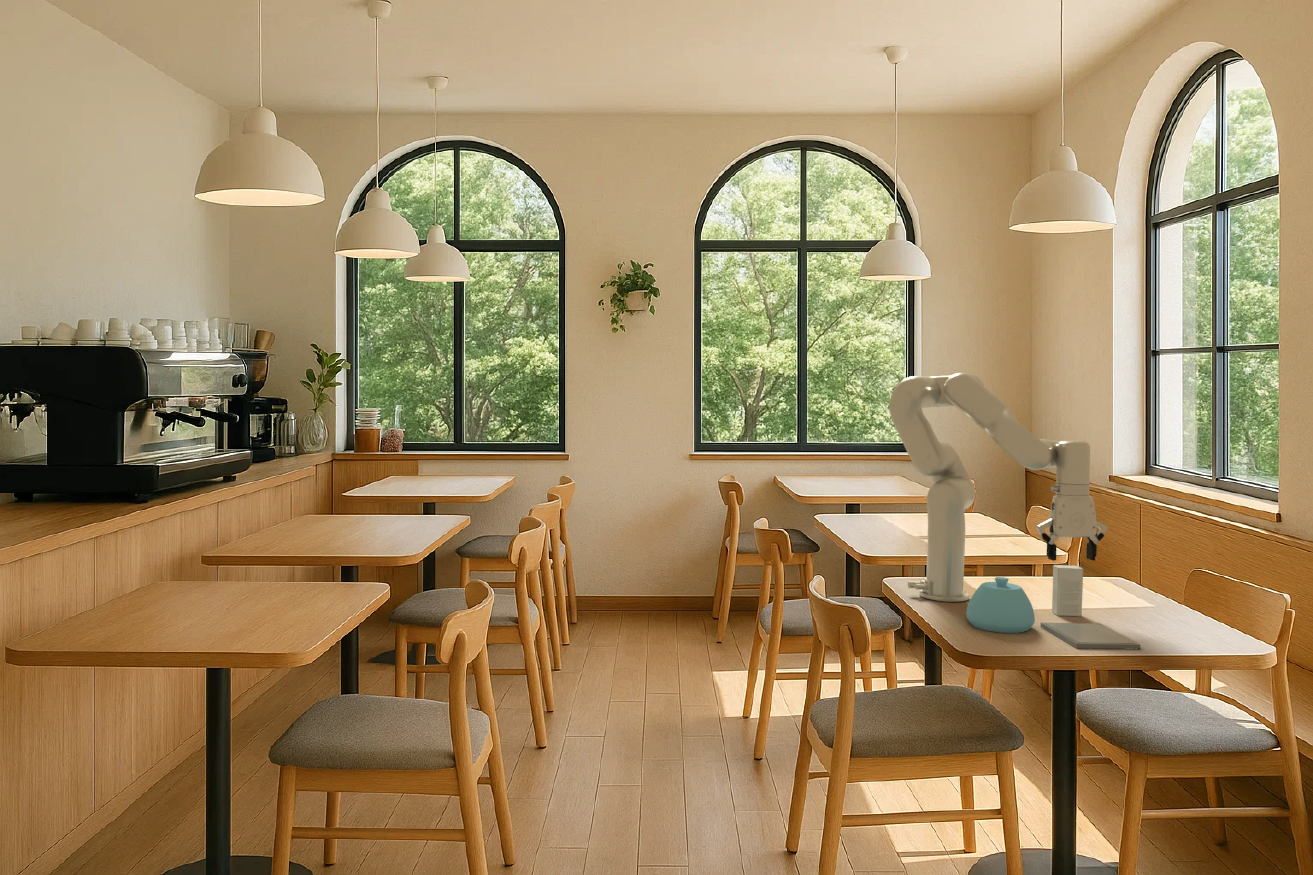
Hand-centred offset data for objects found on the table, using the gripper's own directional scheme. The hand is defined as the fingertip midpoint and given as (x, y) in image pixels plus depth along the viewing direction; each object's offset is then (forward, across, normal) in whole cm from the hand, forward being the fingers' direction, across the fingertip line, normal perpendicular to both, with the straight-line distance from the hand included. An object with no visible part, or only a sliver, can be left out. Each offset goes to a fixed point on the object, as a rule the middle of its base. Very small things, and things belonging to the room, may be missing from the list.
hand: (1071, 559), depth 232 cm
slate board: (+14, -6, -21) cm, 26 cm away
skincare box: (+14, -1, +1) cm, 14 cm away
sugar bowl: (+14, -22, -12) cm, 29 cm away
